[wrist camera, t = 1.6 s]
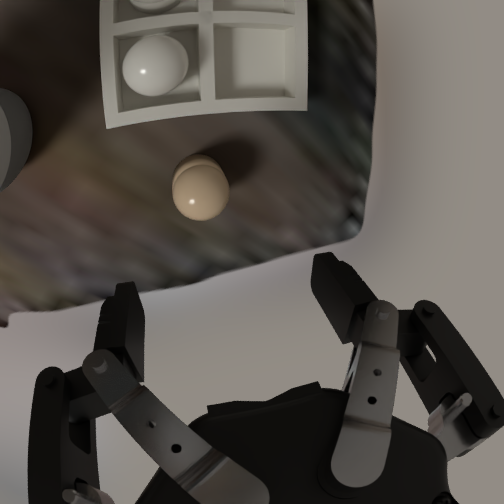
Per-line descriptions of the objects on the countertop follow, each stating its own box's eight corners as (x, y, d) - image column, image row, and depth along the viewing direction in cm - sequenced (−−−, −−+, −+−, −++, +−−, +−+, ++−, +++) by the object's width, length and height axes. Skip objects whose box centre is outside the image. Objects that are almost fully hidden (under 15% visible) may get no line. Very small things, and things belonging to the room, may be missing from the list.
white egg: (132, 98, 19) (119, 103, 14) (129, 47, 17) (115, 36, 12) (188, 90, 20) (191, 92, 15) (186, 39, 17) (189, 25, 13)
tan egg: (175, 204, 26) (176, 234, 21) (170, 157, 23) (168, 177, 19) (223, 198, 26) (235, 226, 22) (221, 151, 24) (233, 170, 20)
